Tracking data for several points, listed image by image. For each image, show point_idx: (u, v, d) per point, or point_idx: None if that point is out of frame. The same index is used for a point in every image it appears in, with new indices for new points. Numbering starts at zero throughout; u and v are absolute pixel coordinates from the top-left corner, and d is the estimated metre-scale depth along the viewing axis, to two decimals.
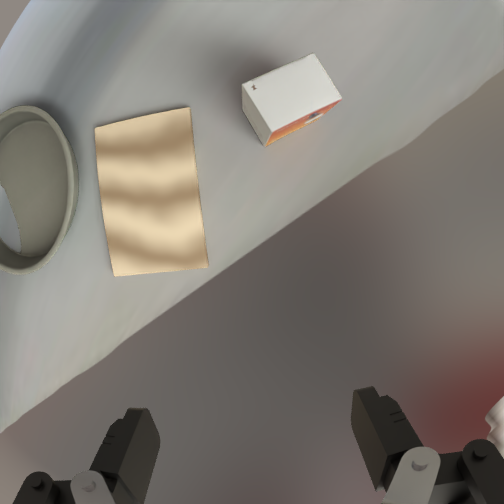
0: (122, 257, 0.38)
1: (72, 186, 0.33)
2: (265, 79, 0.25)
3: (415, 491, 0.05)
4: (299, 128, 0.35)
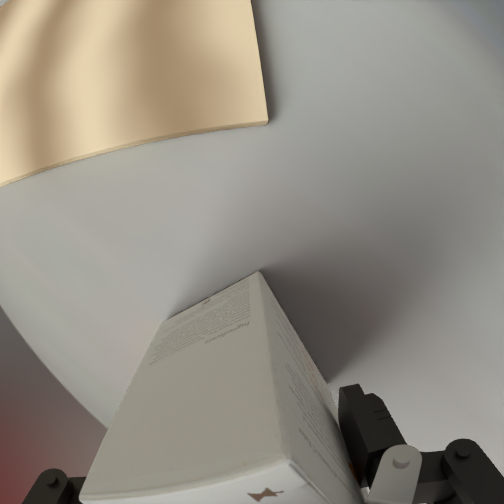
0: None
1: None
2: None
3: (399, 488, 0.05)
4: None
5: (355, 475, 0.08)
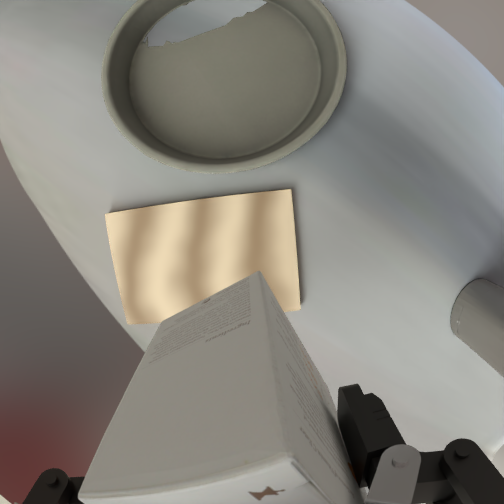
0: (126, 227, 0.31)
1: (211, 172, 0.27)
2: None
3: (398, 488, 0.05)
4: None
5: (354, 475, 0.08)
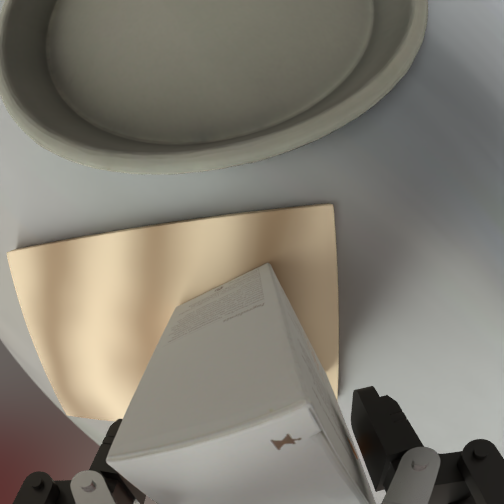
0: (36, 276, 0.15)
1: (160, 172, 0.11)
2: (315, 466, 0.06)
3: (415, 491, 0.05)
4: None
5: (353, 449, 0.09)
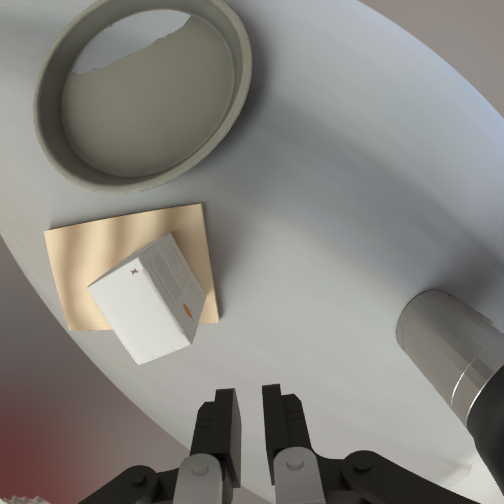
0: (61, 243, 0.31)
1: (118, 193, 0.27)
2: (146, 285, 0.21)
3: (304, 488, 0.06)
4: None
5: (187, 310, 0.25)
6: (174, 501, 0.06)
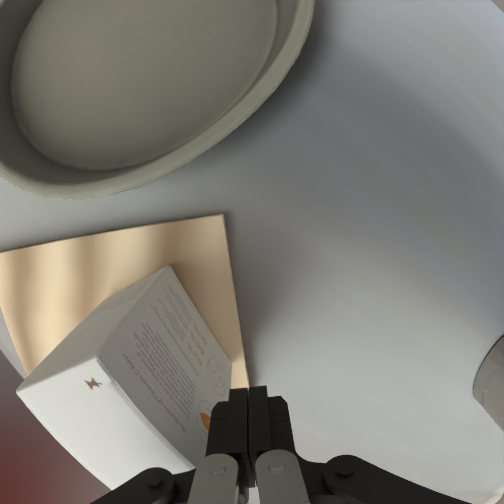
0: (8, 275, 0.18)
1: (76, 198, 0.14)
2: (122, 411, 0.08)
3: (288, 491, 0.06)
4: None
5: (208, 425, 0.12)
6: (189, 501, 0.06)
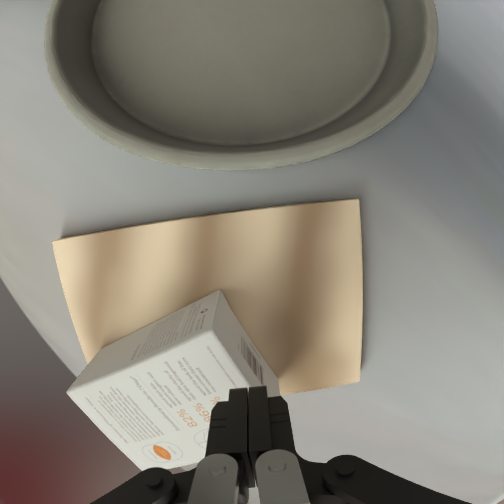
0: (84, 263, 0.18)
1: (225, 168, 0.14)
2: None
3: (288, 490, 0.06)
4: None
5: (160, 452, 0.15)
6: (189, 501, 0.06)
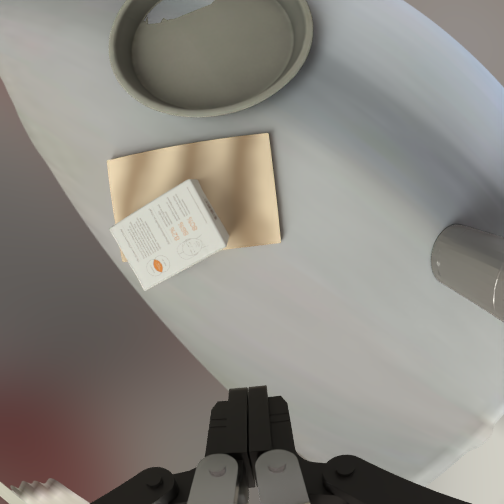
0: (125, 171, 0.34)
1: (199, 116, 0.30)
2: None
3: (288, 490, 0.06)
4: None
5: (157, 265, 0.31)
6: (189, 501, 0.06)
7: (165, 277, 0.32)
